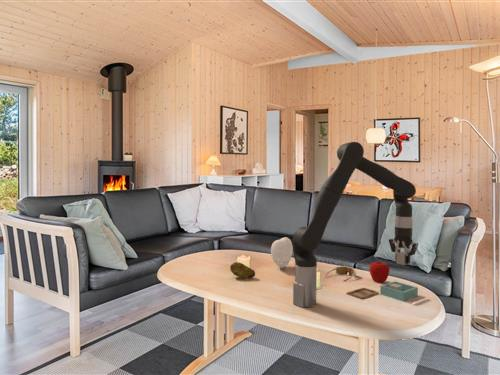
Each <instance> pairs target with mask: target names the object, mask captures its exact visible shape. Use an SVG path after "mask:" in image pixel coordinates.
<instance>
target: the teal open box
mask: <svg viewBox="0 0 500 375" xmlns="http://www.w3.org/2000/svg"><path fill="white" fill-rule="evenodd" d="M393 283H395V284H399V285H402V291H399V290H395V289H392V288H389V285H391V284H393ZM379 288H380V289H379V290H380V291H379V292H380V293H379V294H380V295H381V296H385V297H388V298H392V299H394V300H398V301H400V302H406V301H408V300H410V299H413V298H416V297H419V296H418V292H419V290H418V289H419V287H418V286H414V285H410V284H406V283H404V282H399V281H396V280H394V281H391V282H388V283H385V284H382V285H380V287H379Z"/></svg>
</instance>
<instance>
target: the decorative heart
mask: <svg viewBox="0 0 500 375" xmlns="http://www.w3.org/2000/svg"><path fill="white" fill-rule="evenodd" d="M270 254H271V259H272V261H273V262H274V263H275V265H276V266H277V270H278V271H279V270H280V269H283V268H285V267H287V266H288V264H289V263H290V261H291V258H292V256H293V242H292V241H291V239H290V238H289V237H286V236H285V237H282V238H280V239H276V240H274V241H273V242H272V244H271V248H270Z"/></svg>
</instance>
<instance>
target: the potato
mask: <svg viewBox="0 0 500 375" xmlns="http://www.w3.org/2000/svg"><path fill="white" fill-rule="evenodd" d="M229 269H230V271H231V273H232V274H233V275H234V276H236V277H237V278H239V279H241V278H242V280H249V279H253V278H254V277H255V276H256V272H255V270H254V269H252V268H251V267H249V266H247V265H245V264H243V263H241V262H239V261H235V262H233V263H232V264H230V268H229Z"/></svg>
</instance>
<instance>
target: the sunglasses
mask: <svg viewBox="0 0 500 375" xmlns="http://www.w3.org/2000/svg"><path fill="white" fill-rule="evenodd" d="M334 271H335V274H336V275H349V277H347V278H345V279H344V280H343V282H347V281H348V280H351V279H352V278H356V277H357V272H356V270H355V269H354V268H353V267H350V266H347V265H341V266H336V267H335V268H333V269H330V270H329V271H328V272H326V274H325V276H324V279H326V278H327V275H328V274H329V273H330V272H334Z"/></svg>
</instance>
